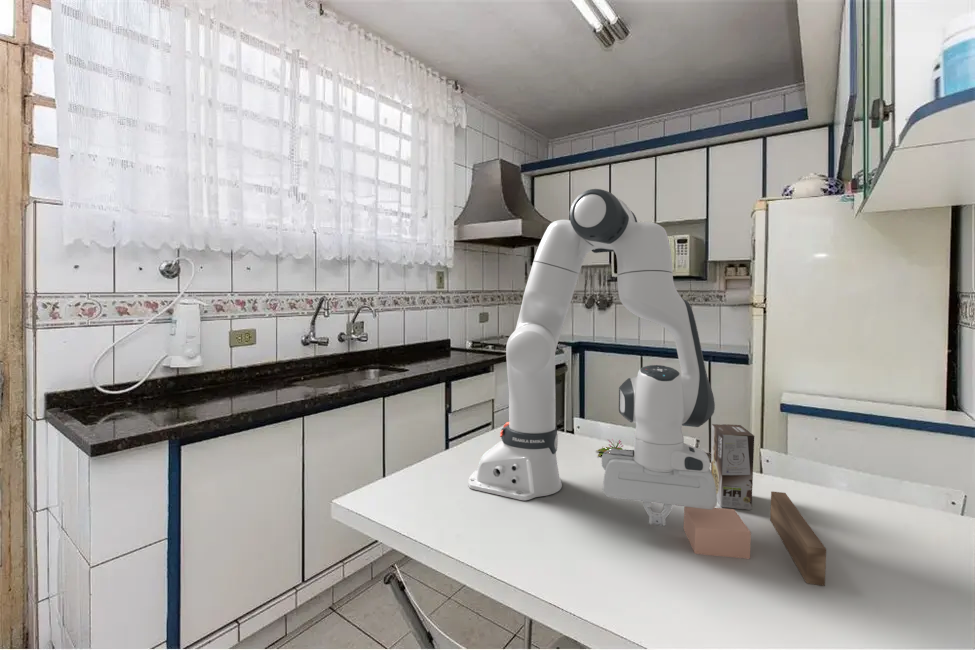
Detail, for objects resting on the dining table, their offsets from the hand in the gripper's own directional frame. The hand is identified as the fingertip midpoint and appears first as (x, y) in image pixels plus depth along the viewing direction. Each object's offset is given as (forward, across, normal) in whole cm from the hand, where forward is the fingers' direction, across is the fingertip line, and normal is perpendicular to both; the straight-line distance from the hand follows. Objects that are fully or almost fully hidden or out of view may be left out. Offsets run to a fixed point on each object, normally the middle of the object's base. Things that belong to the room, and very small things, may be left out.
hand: (656, 523), depth 90 cm
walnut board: (+2, +23, +2) cm, 24 cm away
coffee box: (+2, +16, +21) cm, 27 cm away
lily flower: (+3, -10, +45) cm, 46 cm away
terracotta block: (+2, +10, 0) cm, 10 cm away
